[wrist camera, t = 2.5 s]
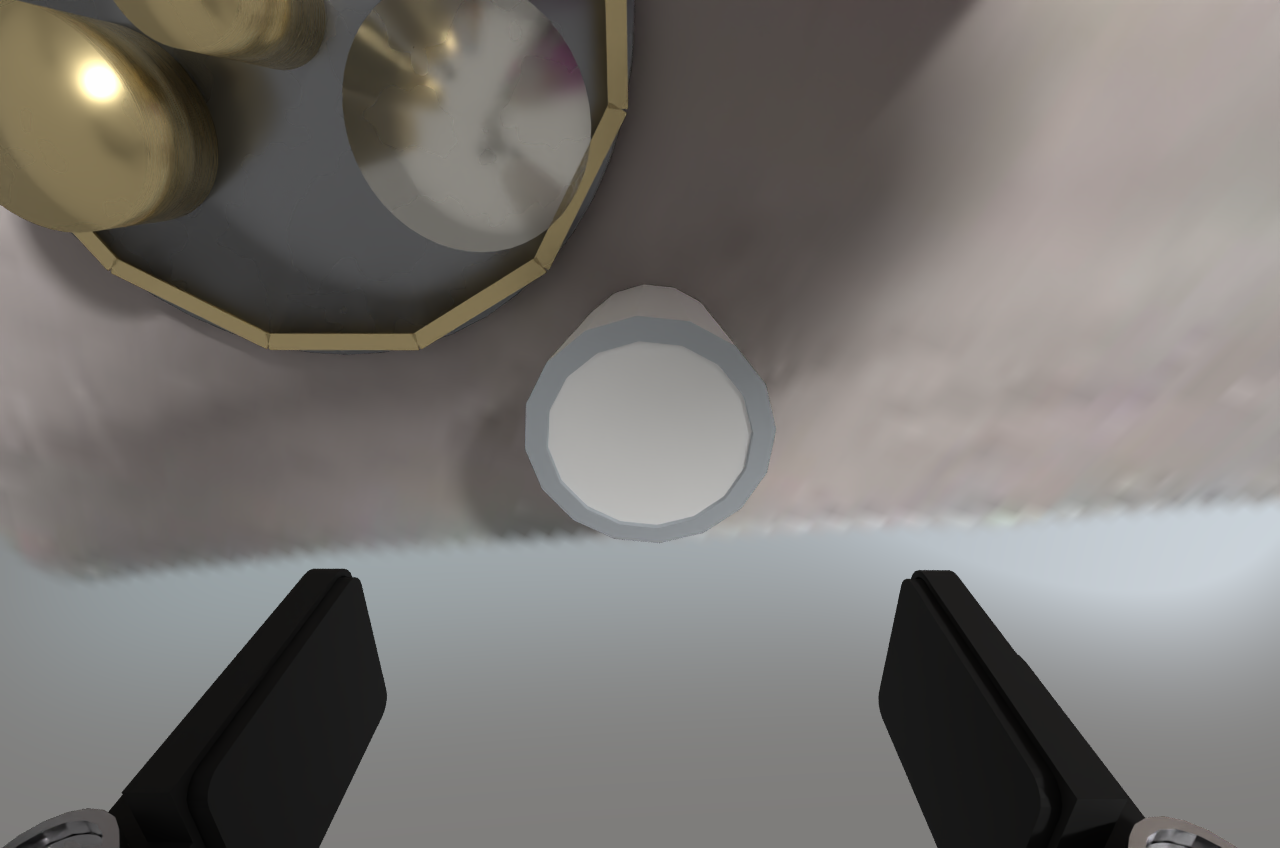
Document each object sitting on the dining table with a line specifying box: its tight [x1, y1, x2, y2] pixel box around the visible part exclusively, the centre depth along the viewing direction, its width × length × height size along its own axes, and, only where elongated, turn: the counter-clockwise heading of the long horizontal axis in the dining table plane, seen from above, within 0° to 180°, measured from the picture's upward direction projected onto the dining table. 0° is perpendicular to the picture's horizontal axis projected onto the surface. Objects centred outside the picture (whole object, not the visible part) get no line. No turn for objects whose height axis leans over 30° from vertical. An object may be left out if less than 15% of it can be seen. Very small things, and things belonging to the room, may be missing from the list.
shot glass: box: [525, 284, 776, 543], centre depth 19 cm, size 7×7×7 cm
